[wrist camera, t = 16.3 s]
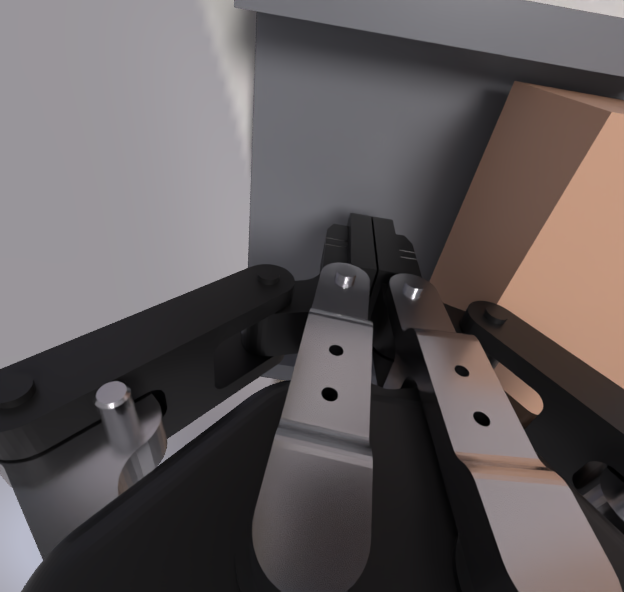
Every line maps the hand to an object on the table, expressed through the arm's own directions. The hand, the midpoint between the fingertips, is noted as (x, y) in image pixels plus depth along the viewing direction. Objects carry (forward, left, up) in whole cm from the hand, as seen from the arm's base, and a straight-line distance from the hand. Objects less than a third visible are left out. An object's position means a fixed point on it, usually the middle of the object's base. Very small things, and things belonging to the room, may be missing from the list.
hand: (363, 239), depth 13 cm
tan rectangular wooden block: (-6, 0, 0) cm, 6 cm away
